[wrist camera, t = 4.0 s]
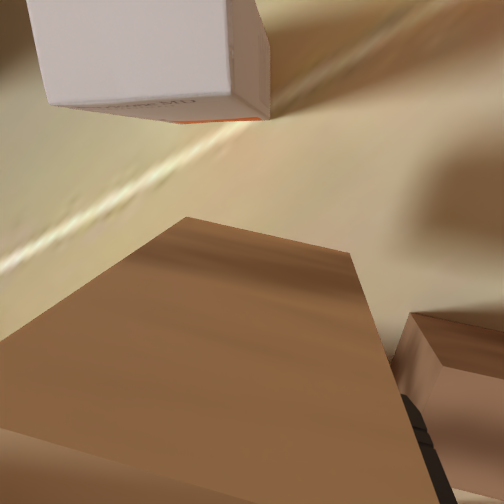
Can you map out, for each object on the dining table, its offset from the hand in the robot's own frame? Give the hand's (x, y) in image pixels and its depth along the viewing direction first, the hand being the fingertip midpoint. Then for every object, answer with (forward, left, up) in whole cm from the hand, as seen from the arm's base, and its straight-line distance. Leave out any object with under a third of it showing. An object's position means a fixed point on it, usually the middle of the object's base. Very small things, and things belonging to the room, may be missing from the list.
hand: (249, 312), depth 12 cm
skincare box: (-8, -5, -11) cm, 15 cm away
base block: (+7, +14, -11) cm, 20 cm away
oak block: (0, 0, 0) cm, 0 cm away
